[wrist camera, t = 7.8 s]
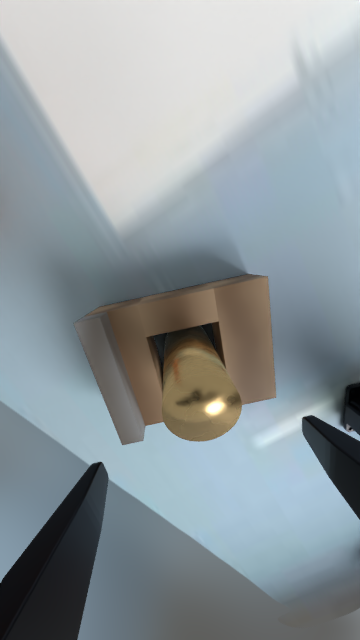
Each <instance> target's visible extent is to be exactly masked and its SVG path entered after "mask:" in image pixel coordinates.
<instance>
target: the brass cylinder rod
mask: <svg viewBox="0 0 360 640" xmlns="http://www.w3.org/2000/svg"><path fill="white" fill-rule="evenodd" d="M241 409H242V402H241V397H240V395H239V393H238V391H237V389H236V387H235V385H234V383H233V381H232V380H231V378H230V376H229V374H228V372H227V370H226V369H225V367H224V365H223V363H222V361H221V359H220V357H219V356H218V354H217V352H216V350H215V348H214V346H213V345H212V343H211V341H210V339H209V337H208V335H207V334H206V332H205V330H204V329H203V328H202V327H200V326H195V327H190V328H186V329H181V330H176V331H172V332H168V334H167V336H166V339H165V350H164V371H163V393H162V418H163V421H164V423H165V425H166V427H167V428H168V429H169V430H170V431H171V432H172V433H173V434H175V435H176V436H178V437H180V438H182V439H185V440H189V441H208V440H212V439H215V438H217V437H220V436H222V435H223V434H225V433H226V432H228V431H229V430H230V429H231V428H232V427H233V426H234V425H235V424H236V422H237V420H238V419H239V416H240V414H241Z"/></svg>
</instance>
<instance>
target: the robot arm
mask: <svg viewBox="0 0 360 640" xmlns="http://www.w3.org/2000/svg"><path fill="white" fill-rule="evenodd" d="M344 429H345V430H346V431H347V432H352V431H356V432H357V433H358V434H359V435H360V383H359V384H354V385H350V386H348V387H347V388H346V396H345V412H344ZM302 432H303V435H304V437H305V439H306V440H307V442H308V444H309V445H310V447H311V448H312V450H313V452H314V453H315V455H316V457H317V458H318V460H319V462H320V463H321V465H322V467H323V468H324V470H325V471H326V473H327V475H328V476H329V478H330V479H331V481H332V482H333V483H334V485H335V486H336V488H337V489H338V490H339V492H340V493H341V495H342V496H343V497H344V499H345V500H346V501H347V503H348V504H349V506H350V507H351V508H352V510H353V511H354V513H355V514H356V515H357V517H358V518H359V519H360V441H358V440H357V439H355V438H353V437H351V436H349V435H347V434H346V433H344V432H342V431H340V430H338V429H337V428H335V427H333V426H331V425H329V424H327V423H326V422H324V421H322V420H320V419H318V418H317V417H315V416H312V415H310V416H305V417H303V418H302ZM107 486H108V473H107V471H106V469H105V467H104V465H103V463H102V462H97V463H93V464H92V465H91V466H90V467H89V468H88V469H87V471H86V472H85V473H84V475H83V476H82V477H81V478H80V480H79V481H78V482H77V484H76V485H75V486H74V488H73V489H72V490H71V491H70V493H69V494H68V495H67V497H66V498H65V499H64V501H63V502H62V503H61V504H60V506H59V507H58V508H57V510H56V511H55V512H54V513H53V515H52V516H51V517H50V518H49V520H48V521H47V522H46V524H45V525H44V526H43V528H42V529H41V530H40V531H39V533H38V534H37V535H36V537H35V538H34V539H33V540H32V542H31V543H30V545H29V546H28V547H27V548H26V549H25V551H24V552H23V553H22V555H21V556H20V557H19V559H18V560H17V561H16V562H15V564H14V565H13V566H12V568H11V569H10V570H9V572H8V573H7V574H6V575H5V577H4V578H3V580H2V582H1V583H0V640H77V638H78V634H79V629H80V625H81V620H82V615H83V611H84V606H85V602H86V597H87V593H88V588H89V584H90V578H91V574H92V569H93V565H94V561H95V556H96V552H97V547H98V542H99V537H100V533H101V528H102V521H103V515H104V508H105V501H106V494H107Z"/></svg>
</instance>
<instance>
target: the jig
mask: <svg viewBox="0 0 360 640" xmlns="http://www.w3.org/2000/svg"><path fill="white" fill-rule="evenodd" d="M208 323H212V329H213V335H214V341H215V347H216V352H217V354H218V356H219V357H220V359H221V361H222V363H223V365H224V367H225V369H226V370H227V372H228V374H229V376H230V378H231V380H232V381H233V383H234V385H235V387H236V389H237V391H238V393H239V395H240V397H241V402H242V405H244V404H249V403H253V402H258V401H263V400H267V399H272V398H276V388H275V373H274V358H273V344H272V329H271V314H270V300H269V285H268V276H260V275H252V274H246V275H242V276H237V277H233V278H228V279H224V280H219V281H214V282H210V283H205V284H201V285H196V286H192V287H187V288H183V289H178V290H174V291H169V292H164V293H160V294H155V295H151V296H146V297H142V298H137V299H133V300H128V301H124V302H119V303H114V304H110V305H105V306H101V307H98V308H97V309H95V310H94V311H92V312H91V313H89V314H87V315H86V316H84V317H83V318H81V319H79V320H78V321H76V322H75V323H73V324H74V326H75V329H76V331H77V334H78V336H79V339H80V341H81V344H82V346H83V349H84V351H85V354H86V356H87V359H88V361H89V364H90V366H91V369H92V371H93V374H94V376H95V379H96V381H97V384H98V386H99V389H100V391H101V394H102V396H103V398H104V401H105V403H106V406H107V408H108V411H109V413H110V416H111V418H112V421H113V423H114V426H115V428H116V431H117V433H118V436H119V438H120V441H121V443H122V445H126V444H130V443H135V442H140V441H143V439H144V432H145V426H147V425H152V424H156V423H161V422H164V421H163V418H162V393H163V368H162V365H161V361H160V357H159V354H158V350H157V346H156V342H155V339H154V335H158V334H163V333H167V332H172V331H176V330H181V329H186V328H190V327H195V326H199V325H204V324H208Z"/></svg>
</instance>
